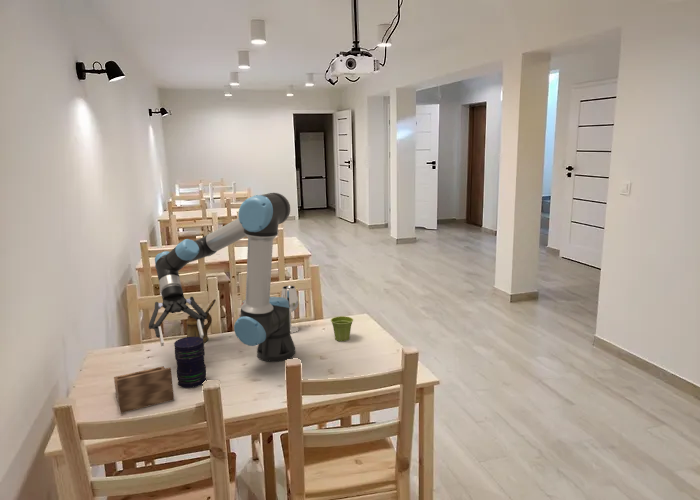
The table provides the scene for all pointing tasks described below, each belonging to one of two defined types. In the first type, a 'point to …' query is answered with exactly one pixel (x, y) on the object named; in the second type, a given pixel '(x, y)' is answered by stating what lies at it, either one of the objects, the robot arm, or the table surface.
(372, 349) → the table surface
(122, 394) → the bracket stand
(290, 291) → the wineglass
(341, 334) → the plant pot
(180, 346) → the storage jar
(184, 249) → the robot arm
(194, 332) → the wooden mug
